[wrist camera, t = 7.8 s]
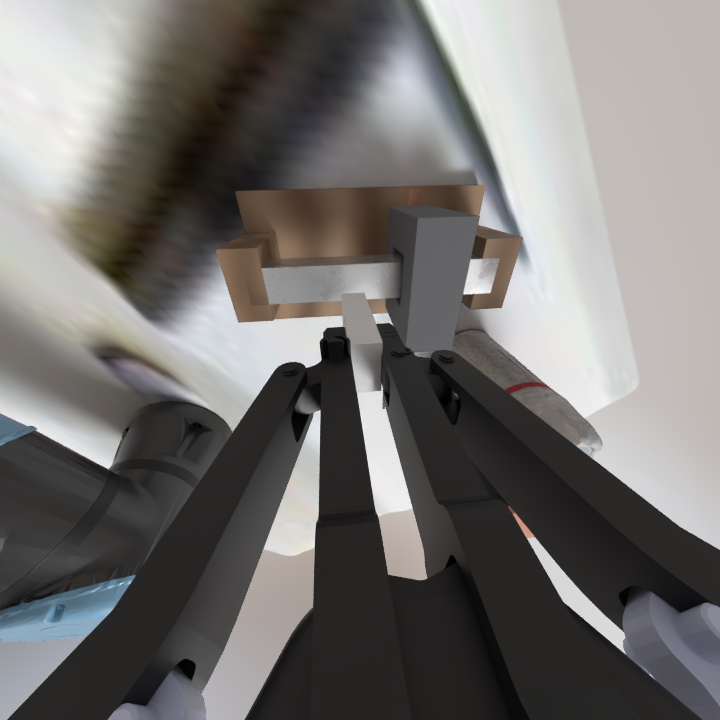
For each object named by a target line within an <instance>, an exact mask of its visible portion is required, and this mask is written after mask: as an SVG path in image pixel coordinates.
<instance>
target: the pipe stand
mask: <svg viewBox="0 0 720 720" xmlns="http://www.w3.org/2000/svg"><path fill="white" fill-rule="evenodd" d="M485 186H486V185H455V186H415V187H375V188H335V189H295V190H255V191H235V192H236V197H237V201H238V205H239V209H240V213H241V217H242V221H243V225H244V229H245V233H244V234H243V235H241V236H239V237H237V238H235V239H234V240H232V241H230V242H228V243H227V244H225V245H223V246H221V247H219V248H218V249H216V252H217V255H218V258H219V262H220V265H221V268H222V271H223V274H224V278H225V281H226V284H227V287H228V290H229V294H230V297H231V300H232V303H233V306H234V310H235V313H236V316H237V319H238V322H255V321H273V320H274V319H286V318H304V317H322V316H340V315H342V301H327V302H308V303H288V304H269V300H268V295H267V291H265V290H266V287H265V282H264V278H263V273H262V269H261V268H262V267H263V266H264V265H265V263H266V262H267V261H268V260H269V259H287V258H312V257H336V256H360V255H385V254H387V251H388V224H389V207H395V206H429V205H431V206H435V207H440V208H444V209H449V210H454V211H458V212H463V213H467V214H472V215H476V216H479V214H480V210H481V205H482V200H483V195H484V190H485ZM522 240H523V238H522V237H519V236H515V235H511V234H508V233H504V232H501V231H497V230H494V229H490V228H487V227H483V226H480V225H478V227H477V232H476V236H475V241H474V246H473V251H472V254H474V255H476V256H478V257H480V258H482V259H487V260H488V259H490V260H491V258H492V260H493V258H496V259H499V258H500V259H499V262H497V263H498V264H497V263H496V264H497V265H498V267H497V268H496V269H497V270H496V269H493V268H491V267H492V265H493V264H495V263H493V264H492V265H490V264H489V263H488V264H489V265H490V268H491V269H492V270H495V271H496V272H495V273H496V274H495V276H494V277H495V278H494V281H493V285H492V286H491V287H492V289H491V292H490V293H482V294H463V298H462V302H463V303H464V304H465V305H466V306H467V307H468V308H469V309H470V310H472V309H490V308H502V305H503V302H504V298H505V295H506V292H507V289H508V285H509V282H510V279H511V276H512V272H513V269H514V266H515V263H516V259H517V256H518V253H519V249H520V246H521V243H522ZM493 261H494V262H495V260H493ZM496 261H497V260H496ZM485 262H486V261H485ZM482 264H483V263H482ZM484 264H485V263H484ZM484 264H483V265H484ZM483 265H482V266H483ZM497 265H496V266H497ZM482 266H481V267H482ZM487 266H488V265H487ZM487 266H486V268H487V269H488V267H487ZM494 266H495V265H494ZM496 266H495V267H496ZM484 267H485V266H484ZM486 268H483V269H486ZM488 270H489V269H488ZM485 271H487V270H485ZM479 272H480V271H479ZM481 272H482V271H481ZM487 272H488V271H487ZM489 272H490V271H489ZM489 272H488V273H489ZM490 273H491V272H490ZM493 273H494V272H493ZM480 274H481V273H480ZM483 274H484V273H483ZM483 274H482V275H483ZM491 274H492V273H491ZM252 275H253V276H252ZM492 275H493V274H492ZM487 276H488V275H487ZM478 277H479V276H478ZM480 277H481V276H480ZM485 277H486V276H485ZM488 278H489V277H488ZM490 279H491V278H490ZM490 279H489V280H490ZM489 280H488V281H489ZM251 281H252V282H251ZM480 282H481V283H482V281H480ZM489 283H492V280H490V281H489ZM249 284H250V285H249ZM483 284H484V283H483ZM485 284H486V283H485ZM485 284H484V285H485ZM255 285H256V286H255ZM256 287H257V288H256ZM477 287H478V286H477ZM480 287H481V286H480ZM485 287H486V286H485ZM485 287H484V288H485ZM248 289H249V291H248ZM263 289H264V290H263ZM482 290H483V289H482ZM252 293H253V295H252ZM262 293H263V294H262ZM262 295H263V296H262ZM259 296H261V299H260V297H259ZM249 297H250V298H249ZM251 297H252V299H251ZM255 298H256V299H255ZM262 298H263V299H264V300H262ZM253 299H254V301H253ZM258 300H259V301H258ZM256 301H257V303H256ZM264 301H265V302H266V303H265V302H264ZM367 301H368V304H369V307H370V309H371V312H372V314H376V313H388V311H387V309H386V307H385V304H386V298H385V299H367ZM254 303H255V305H254ZM264 303H265V305H264ZM252 304H253V305H252Z"/></svg>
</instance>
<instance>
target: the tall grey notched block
mask: <svg viewBox="0 0 720 720" xmlns="http://www.w3.org/2000/svg"><path fill="white" fill-rule="evenodd" d="M479 217H480V216H476V215H472V214H467V213H463V212H458V211H454V210H449V209H444V208H440V207H435V206H431V205H429V206H395V207H389V224H388V251H387V254H402V255H403V256H404V262H403V276H402V290H401V298H386V304H385V307H386V309H387V311H388V314H389V316H390V318H391V321H392V323H393V325H394V327H395V328H396V330H397V332H398V334H399V336H400V338H401V340H402V342H403V344H404V346H405V347H408V348H410V349H411V350H412V351H413V352H423V351H437V350H452V345H453V340H454V336H455V331H456V326H457V321H458V317H459V312H460V307H461V303H462V298H463V293H464V288H465V284H466V279H467V274H468V269H469V265H470V260H471V255H472V251H473V246H474V241H475V236H476V232H477V227H478V222H479Z"/></svg>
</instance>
